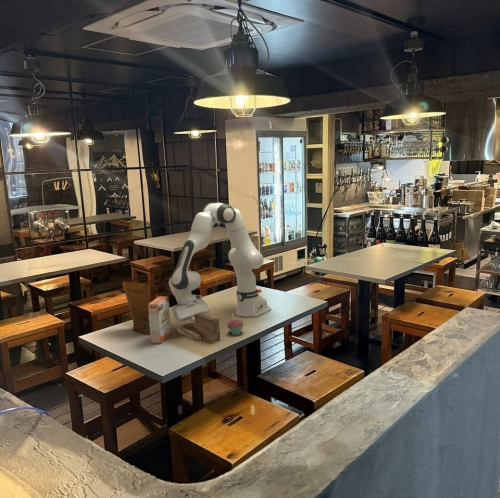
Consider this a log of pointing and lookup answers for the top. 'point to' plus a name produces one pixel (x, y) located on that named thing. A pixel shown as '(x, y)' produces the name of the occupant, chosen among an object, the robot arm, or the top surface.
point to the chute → (188, 331)
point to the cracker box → (159, 319)
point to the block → (207, 326)
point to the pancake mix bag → (138, 305)
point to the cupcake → (235, 326)
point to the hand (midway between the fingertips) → (198, 323)
